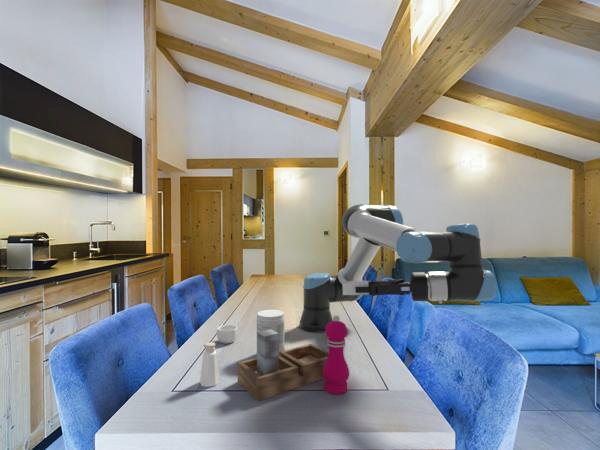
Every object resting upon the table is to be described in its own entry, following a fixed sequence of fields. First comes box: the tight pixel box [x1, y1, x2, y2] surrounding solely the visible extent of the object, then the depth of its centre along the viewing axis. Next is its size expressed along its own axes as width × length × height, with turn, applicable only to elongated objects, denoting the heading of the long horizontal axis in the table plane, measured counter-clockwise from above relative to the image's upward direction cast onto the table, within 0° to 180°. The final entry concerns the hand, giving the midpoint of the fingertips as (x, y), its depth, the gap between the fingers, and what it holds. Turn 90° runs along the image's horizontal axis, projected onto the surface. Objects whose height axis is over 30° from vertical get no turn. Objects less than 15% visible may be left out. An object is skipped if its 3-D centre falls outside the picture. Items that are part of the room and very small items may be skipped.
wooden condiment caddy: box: [237, 329, 329, 402], centre depth 96 cm, size 30×12×14 cm, turn 126°
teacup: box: [216, 324, 238, 345], centre depth 126 cm, size 10×8×5 cm
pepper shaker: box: [199, 341, 220, 388], centre depth 92 cm, size 5×5×11 cm
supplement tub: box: [256, 309, 286, 352], centre depth 112 cm, size 10×10×15 cm
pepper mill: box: [323, 315, 350, 395], centre depth 89 cm, size 7×7×20 cm
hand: (345, 287), depth 90 cm, fingers open, 13 cm apart
